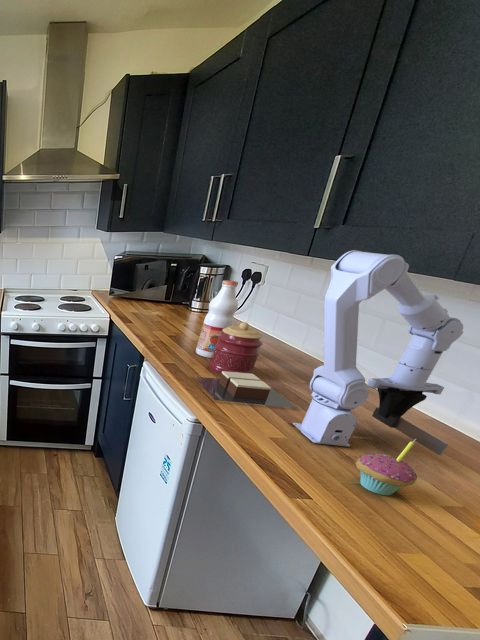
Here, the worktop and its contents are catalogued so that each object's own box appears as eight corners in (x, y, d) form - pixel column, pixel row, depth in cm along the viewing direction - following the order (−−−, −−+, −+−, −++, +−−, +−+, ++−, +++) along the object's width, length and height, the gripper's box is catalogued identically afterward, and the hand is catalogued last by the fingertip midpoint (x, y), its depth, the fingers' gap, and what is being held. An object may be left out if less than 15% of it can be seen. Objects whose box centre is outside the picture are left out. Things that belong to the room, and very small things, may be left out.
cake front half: (266, 400, 117) (271, 387, 115) (233, 397, 118) (237, 384, 116) (258, 393, 121) (262, 381, 119) (226, 390, 122) (230, 378, 121)
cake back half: (256, 391, 122) (260, 379, 121) (224, 388, 123) (228, 376, 122) (248, 385, 126) (252, 373, 125) (218, 382, 128) (222, 371, 126)
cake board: (297, 409, 113) (298, 407, 113) (214, 402, 116) (215, 400, 115) (264, 384, 129) (264, 382, 129) (192, 378, 132) (192, 376, 132)
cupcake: (380, 477, 85) (408, 428, 80) (417, 504, 77) (451, 452, 72) (337, 473, 85) (362, 424, 80) (370, 500, 77) (399, 448, 73)
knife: (371, 416, 103) (377, 405, 101) (380, 416, 102) (385, 406, 101) (435, 455, 86) (442, 443, 85) (445, 456, 86) (453, 444, 85)
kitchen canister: (216, 377, 133) (232, 325, 126) (202, 363, 145) (216, 315, 138) (258, 381, 131) (277, 329, 124) (241, 367, 143) (257, 319, 136)
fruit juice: (206, 349, 160) (227, 278, 149) (228, 357, 152) (252, 283, 141) (189, 352, 157) (209, 279, 145) (210, 360, 149) (233, 284, 137)
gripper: (435, 362, 96) (407, 412, 102) (368, 356, 98) (344, 406, 104) (463, 373, 90) (432, 425, 95) (391, 367, 92) (365, 419, 97)
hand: (388, 416), depth 99 cm, fingers closed on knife, 2 cm apart
